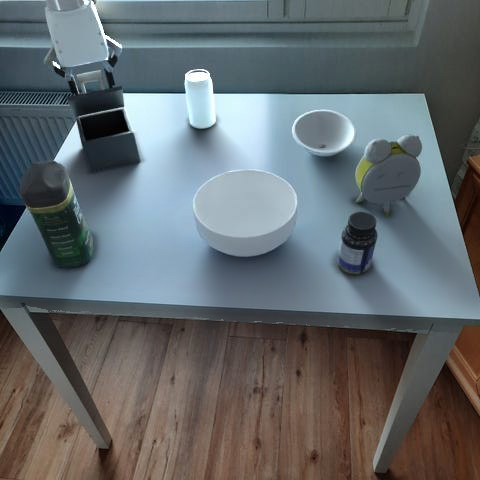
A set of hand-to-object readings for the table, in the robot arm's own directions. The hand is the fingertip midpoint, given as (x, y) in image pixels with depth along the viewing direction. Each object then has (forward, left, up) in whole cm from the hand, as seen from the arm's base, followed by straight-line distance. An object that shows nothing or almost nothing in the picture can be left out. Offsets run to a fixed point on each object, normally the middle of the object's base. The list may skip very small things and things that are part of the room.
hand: (94, 91), depth 101 cm
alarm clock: (+50, -40, -15) cm, 66 cm away
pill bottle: (+37, -53, -15) cm, 67 cm away
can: (+24, +5, -15) cm, 29 cm away
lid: (0, +1, -3) cm, 3 cm away
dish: (+47, -17, -15) cm, 52 cm away
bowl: (+21, -38, -15) cm, 46 cm away
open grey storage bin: (0, 0, -15) cm, 15 cm away
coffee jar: (-12, -31, -15) cm, 37 cm away
